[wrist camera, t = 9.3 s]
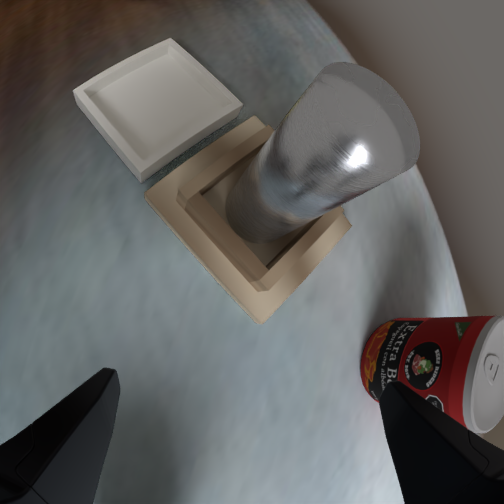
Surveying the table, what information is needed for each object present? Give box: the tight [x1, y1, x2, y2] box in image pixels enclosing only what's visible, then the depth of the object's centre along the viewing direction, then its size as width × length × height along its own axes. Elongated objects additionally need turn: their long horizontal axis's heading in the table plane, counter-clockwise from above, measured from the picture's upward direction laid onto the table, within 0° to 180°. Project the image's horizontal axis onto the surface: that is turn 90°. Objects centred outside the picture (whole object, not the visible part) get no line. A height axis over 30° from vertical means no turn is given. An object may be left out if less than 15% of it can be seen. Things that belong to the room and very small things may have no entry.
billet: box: [225, 62, 420, 244], centre depth 14 cm, size 4×4×12 cm
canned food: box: [361, 316, 504, 433], centre depth 18 cm, size 8×8×11 cm
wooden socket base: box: [144, 115, 352, 324], centre depth 20 cm, size 10×11×3 cm
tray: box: [73, 38, 243, 184], centre depth 19 cm, size 9×9×2 cm
